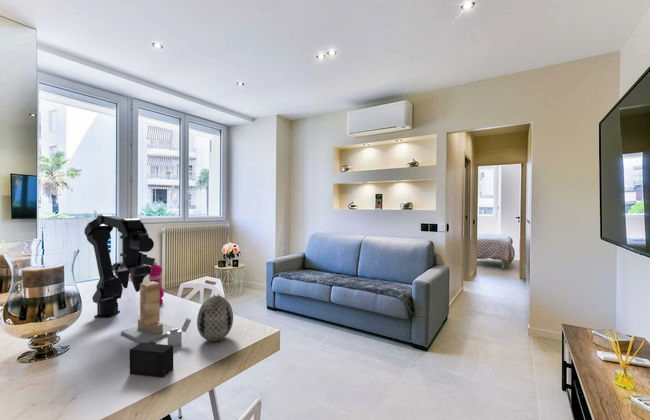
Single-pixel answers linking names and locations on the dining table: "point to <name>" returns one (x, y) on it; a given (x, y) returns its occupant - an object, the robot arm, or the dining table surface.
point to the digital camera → (151, 359)
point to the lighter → (177, 334)
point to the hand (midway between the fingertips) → (131, 289)
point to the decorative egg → (215, 318)
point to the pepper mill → (157, 278)
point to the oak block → (149, 303)
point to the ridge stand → (147, 332)
